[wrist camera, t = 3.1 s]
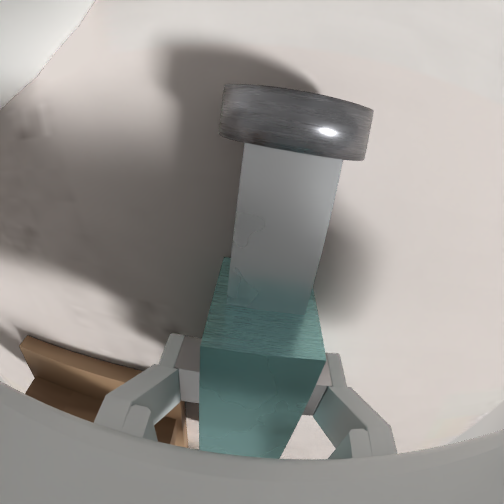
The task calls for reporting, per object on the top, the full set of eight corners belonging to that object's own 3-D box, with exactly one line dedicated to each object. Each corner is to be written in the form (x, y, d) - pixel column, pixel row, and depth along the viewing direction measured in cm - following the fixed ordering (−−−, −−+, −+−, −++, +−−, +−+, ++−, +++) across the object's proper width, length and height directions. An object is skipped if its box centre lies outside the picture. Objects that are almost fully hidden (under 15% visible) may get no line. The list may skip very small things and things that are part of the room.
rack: (27, 335, 14) (-39, 433, 7) (183, 379, 14) (146, 528, 7) (95, 458, 22) (73, 520, 15) (192, 484, 22) (180, 554, 15)
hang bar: (233, 89, 8) (203, 75, 4) (351, 109, 8) (415, 117, 4) (205, 425, 16) (194, 488, 12) (265, 432, 16) (263, 496, 12)
